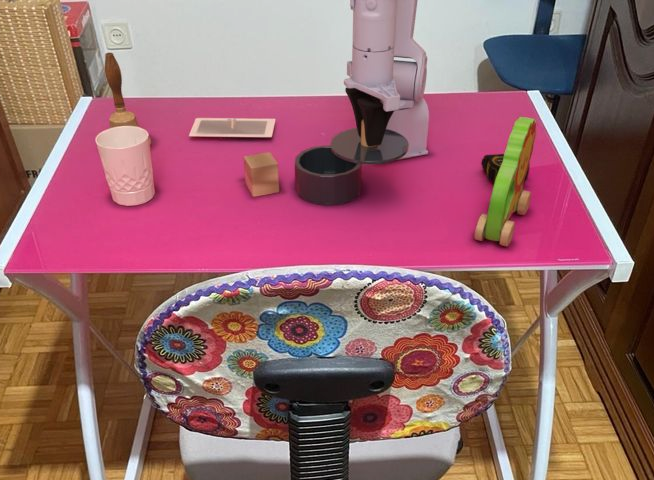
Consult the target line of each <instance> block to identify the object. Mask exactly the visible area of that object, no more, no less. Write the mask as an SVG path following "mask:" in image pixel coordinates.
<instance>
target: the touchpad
mask: <svg viewBox="0 0 654 480" xmlns="http://www.w3.org/2000/svg"><path fill="white" fill-rule="evenodd" d="M275 125H276V118H247V117H246V118H241V117H240V118H237V117H233V118H232V117H231V118H230V117H229V118H228V117H195V120H194V121H193V125H192V127H191V129H190V132H189V134H188V137H208V138H209V137H211V138H212V137H213V138H214V137H215V138H217V137H219V138H223V137H224V138H226V137H227V138H272V137H273V134H274V129H275Z"/></svg>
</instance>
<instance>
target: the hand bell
mask: <svg viewBox="0 0 654 480" xmlns="http://www.w3.org/2000/svg"><path fill="white" fill-rule="evenodd" d="M104 75H105V78H106V81H107V84H108V86H109V88H110V90H111V92H112V98H113V103H114V107H115V109H114V110H115V112H113V113H112V114H111V115H110V116H109V129H110V128H114V127H119V126H135V127H140V125H139V123H138V119H137V117H136V115H135V113H134V112H133V111H128V110H127V108H126V106H125V105H126V104H125V101H124V96H123V92H122V91H123V90H122V87H123V85H122V84H123V78H122V77H123V76H122V70H121V67H120V65H119V63H118V61H117V59H116V57H115V55H114V53H113V52H106V53H105V54H104ZM149 143H150V146H151V145H152V139H151V137H149Z"/></svg>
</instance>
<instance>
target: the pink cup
mask: <svg viewBox="0 0 654 480" xmlns="http://www.w3.org/2000/svg"><path fill="white" fill-rule="evenodd" d="M149 135H150V134H149V131H147V130H146V129H144V128H143V127H140V126H139V127H135V126H119V127H114V128H110V127H109V128H107V129H104V130H103V131H101V132H99V133H98V134H97V135H96V136H95V145H96V148H97V151H98V155H99V156H98V157H99V160H100V163H101V166H102V169H103V173H104V177H105V179H106V184H107V186H108V188H109V191H110V194H111V198H112V200H113V202H115V204H117V205H121V206H126V207H129V206H130V207H133V206H134V207H135V206H140V205H143V204H146V203H148V202H149V201H151V200H152V199H153V198H154V197H155V194H156V190H155V189H156V188H155V183H154V169H153V168H154V167H153V160H152V159H153V158H152V149H151V145H150V143H149V138H150V136H149Z"/></svg>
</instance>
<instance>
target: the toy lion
mask: <svg viewBox="0 0 654 480" xmlns="http://www.w3.org/2000/svg"><path fill="white" fill-rule="evenodd" d="M536 128H537V121H536V120H535V118H531V117H526V116H519V117H518V119H516V120H515V121H514V123H513V126H512V129H511V132H510V134H509V136H508V140H507V144H506V148H505V150H504V153H503V154H504V158H503V162H502V164H501V167H500V169H499V171H498V174H497V177H496V180H495V183H494V182H493V183H494V184H493V187H492V192H491V194H490V199H489V205H488V210H487V214H485V213H482V214H480V216H479V218H478V220H477V222H476V225H475V230H474V237H473V238H474V240H475V241H479V242H483V241H484V239H486V240H489V241H494V242H499V246H501V247H502V246H503V247H506V248H507V247H509V245H510V244H511V242H512V240H513V237H514V233H515V229H516V228H515V227H516V225H515V224H516V223H515V221H512V220H510V218H511V217H512V215H513V214H514V213H516V214H517V215H521V216H525V215H526V214H527V212H528V209H529V207H530V204H531V198H532V192H531V191H529V190H525V189H524V190H523V187H524V183H525V182H524V179H525V175H526V173H527V170H528V167H529V163H530V162H531V159H532V155H533V151H534V145H535V140H536V134H537V129H536ZM530 164H531V163H530ZM529 168H530V167H529Z"/></svg>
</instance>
